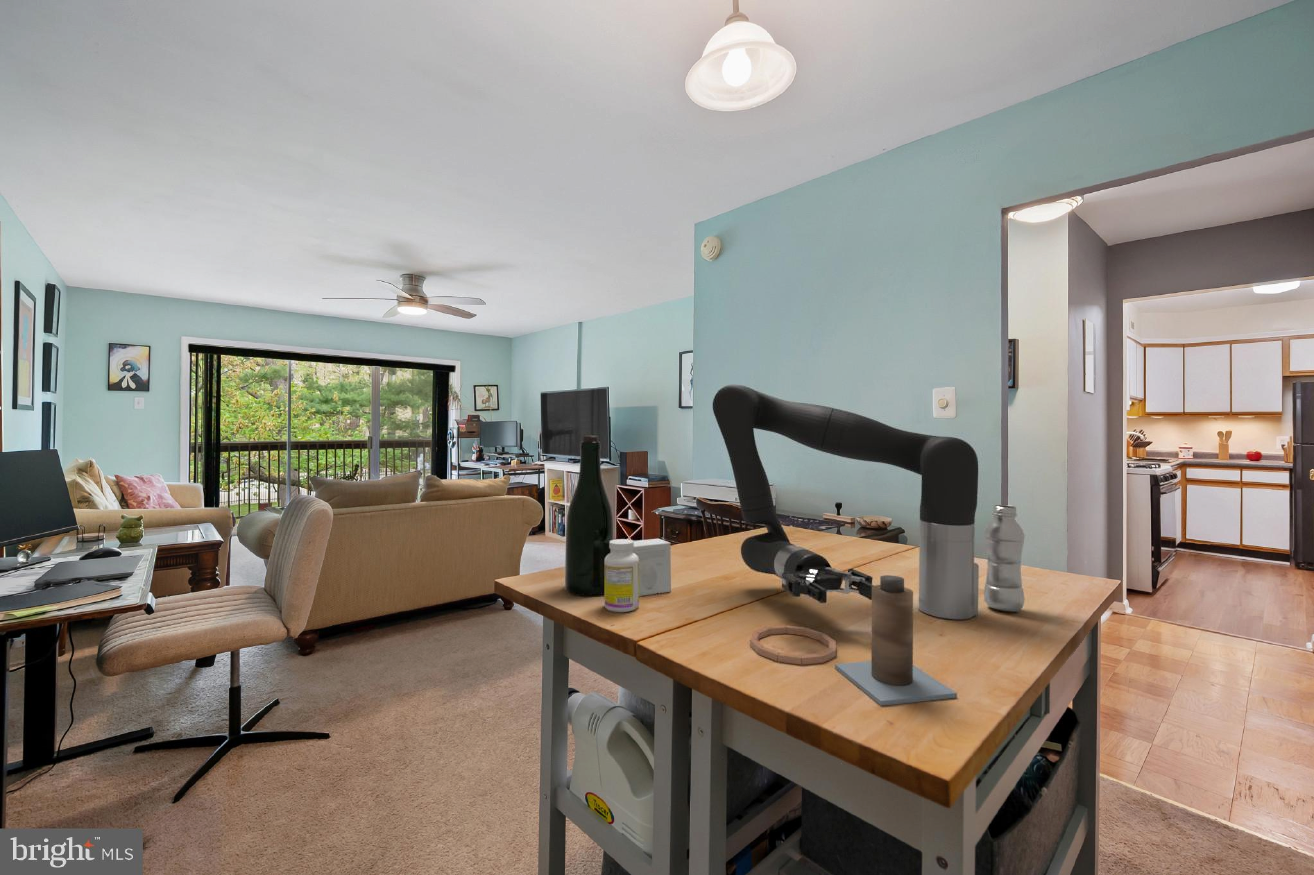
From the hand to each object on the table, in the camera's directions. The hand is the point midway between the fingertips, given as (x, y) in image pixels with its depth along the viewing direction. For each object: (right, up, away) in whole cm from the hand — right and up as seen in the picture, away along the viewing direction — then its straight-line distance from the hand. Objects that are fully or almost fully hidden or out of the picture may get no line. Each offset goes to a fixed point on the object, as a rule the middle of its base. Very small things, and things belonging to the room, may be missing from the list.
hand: (849, 595), depth 86 cm
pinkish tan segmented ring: (-9, -9, +1) cm, 12 cm away
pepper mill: (+2, -8, -11) cm, 13 cm away
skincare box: (-33, -8, +31) cm, 46 cm away
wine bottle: (-44, -8, +32) cm, 55 cm away
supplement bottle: (-37, -8, +20) cm, 43 cm away
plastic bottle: (+37, -9, +20) cm, 43 cm away
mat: (+2, -9, -11) cm, 14 cm away
